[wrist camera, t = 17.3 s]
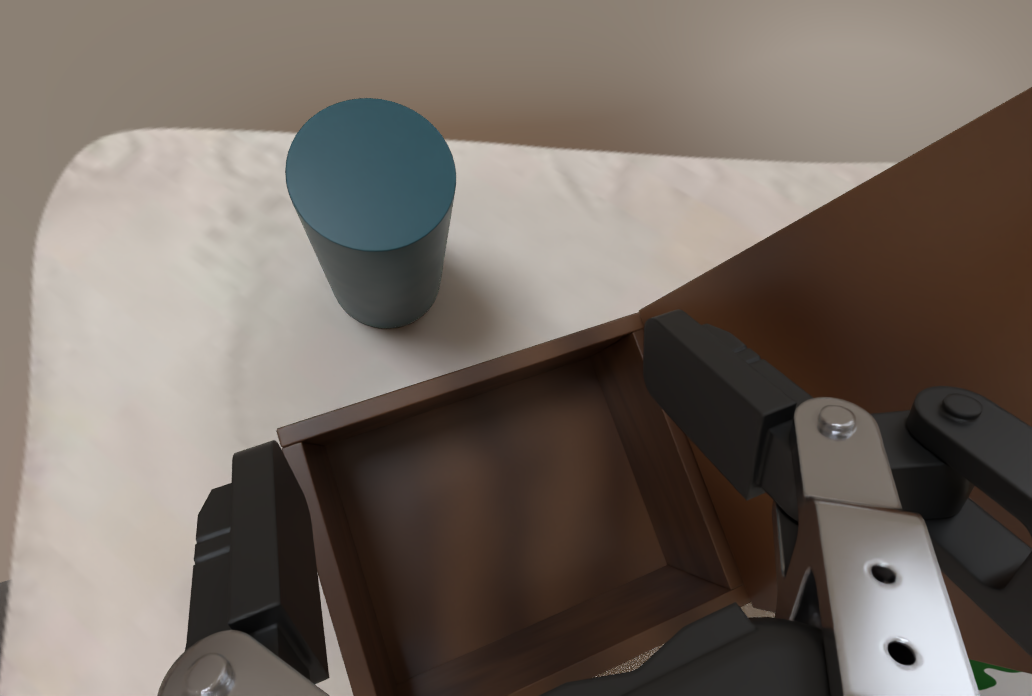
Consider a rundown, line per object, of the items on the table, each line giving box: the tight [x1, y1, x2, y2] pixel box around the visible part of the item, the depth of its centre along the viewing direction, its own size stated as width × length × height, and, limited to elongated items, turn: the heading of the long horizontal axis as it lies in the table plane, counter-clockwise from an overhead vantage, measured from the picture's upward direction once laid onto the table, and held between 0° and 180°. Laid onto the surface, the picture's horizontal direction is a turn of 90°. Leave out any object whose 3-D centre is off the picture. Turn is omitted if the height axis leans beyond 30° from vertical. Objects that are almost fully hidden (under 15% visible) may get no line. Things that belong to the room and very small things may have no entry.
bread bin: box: [277, 312, 751, 696], centre depth 27 cm, size 17×14×7 cm
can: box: [285, 98, 456, 328], centre depth 27 cm, size 6×6×12 cm
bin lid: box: [639, 87, 1032, 674], centre depth 17 cm, size 18×14×1 cm
